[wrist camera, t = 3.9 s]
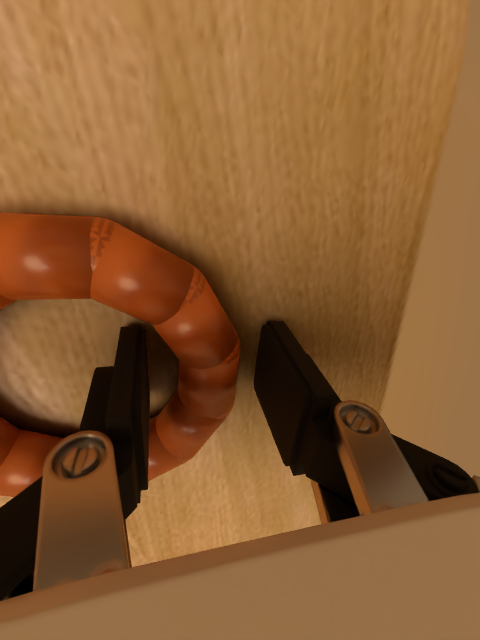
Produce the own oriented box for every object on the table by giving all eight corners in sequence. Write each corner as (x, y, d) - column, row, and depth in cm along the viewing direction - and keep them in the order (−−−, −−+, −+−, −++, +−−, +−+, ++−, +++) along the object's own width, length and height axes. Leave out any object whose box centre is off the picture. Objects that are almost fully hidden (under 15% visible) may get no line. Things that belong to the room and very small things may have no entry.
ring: (244, 216, 9) (264, 234, 7) (222, 442, 14) (231, 483, 12) (-208, 194, 7) (-332, 214, 5) (-41, 478, 12) (-74, 537, 10)
